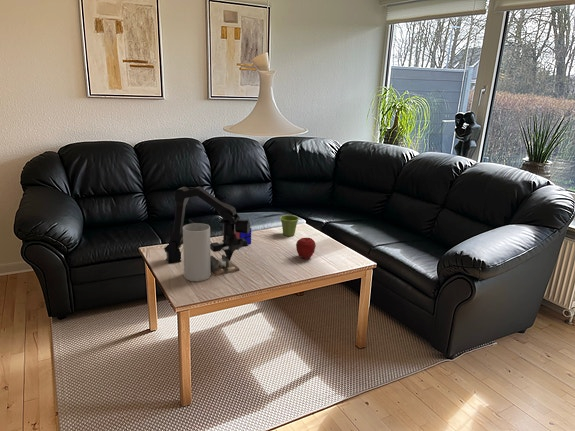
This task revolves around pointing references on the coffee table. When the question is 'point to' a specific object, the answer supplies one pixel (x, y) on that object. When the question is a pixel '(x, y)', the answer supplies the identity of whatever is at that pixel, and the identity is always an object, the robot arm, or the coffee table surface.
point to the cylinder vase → (196, 251)
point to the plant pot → (289, 224)
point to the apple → (305, 247)
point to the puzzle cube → (244, 236)
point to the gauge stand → (219, 271)
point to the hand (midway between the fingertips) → (228, 260)
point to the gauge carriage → (223, 262)
